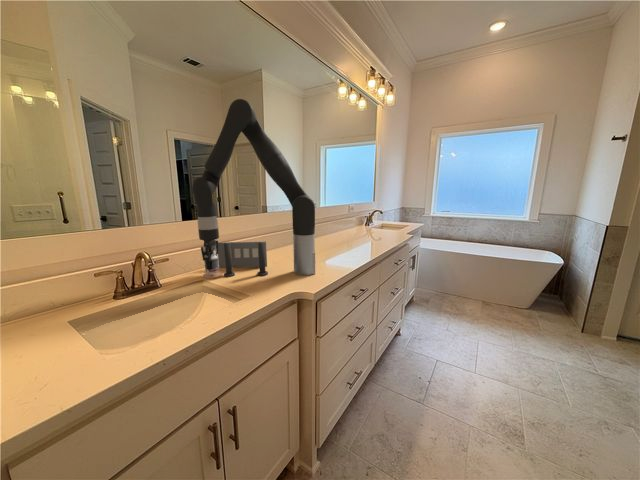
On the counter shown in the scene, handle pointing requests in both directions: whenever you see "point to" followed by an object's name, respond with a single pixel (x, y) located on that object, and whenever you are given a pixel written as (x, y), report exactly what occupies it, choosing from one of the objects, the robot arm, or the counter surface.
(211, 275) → the coaster
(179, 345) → the counter surface
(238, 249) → the panel
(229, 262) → the post
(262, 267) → the post
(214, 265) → the pill bottle
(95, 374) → the counter surface
